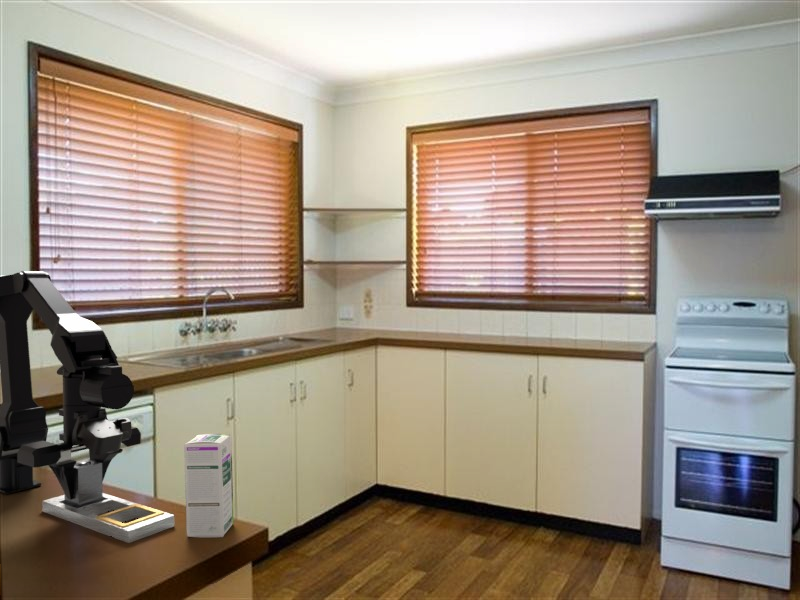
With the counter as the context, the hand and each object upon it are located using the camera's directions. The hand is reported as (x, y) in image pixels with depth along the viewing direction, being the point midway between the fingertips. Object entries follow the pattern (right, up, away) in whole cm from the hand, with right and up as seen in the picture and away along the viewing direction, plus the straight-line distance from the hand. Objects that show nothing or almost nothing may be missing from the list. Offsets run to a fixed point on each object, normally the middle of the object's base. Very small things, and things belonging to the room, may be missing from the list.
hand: (83, 495), depth 111 cm
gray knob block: (0, -3, 0) cm, 3 cm away
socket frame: (+5, -3, -4) cm, 7 cm away
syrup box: (+24, -3, -9) cm, 25 cm away
